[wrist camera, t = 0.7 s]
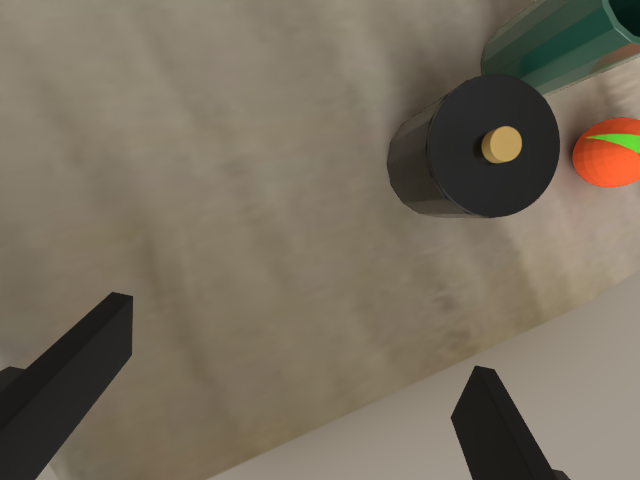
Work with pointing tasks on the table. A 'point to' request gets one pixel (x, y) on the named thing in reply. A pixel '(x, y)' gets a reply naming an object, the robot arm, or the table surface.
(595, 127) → the clementine
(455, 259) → the table surface
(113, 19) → the table surface
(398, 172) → the black lidded canister
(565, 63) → the tin
